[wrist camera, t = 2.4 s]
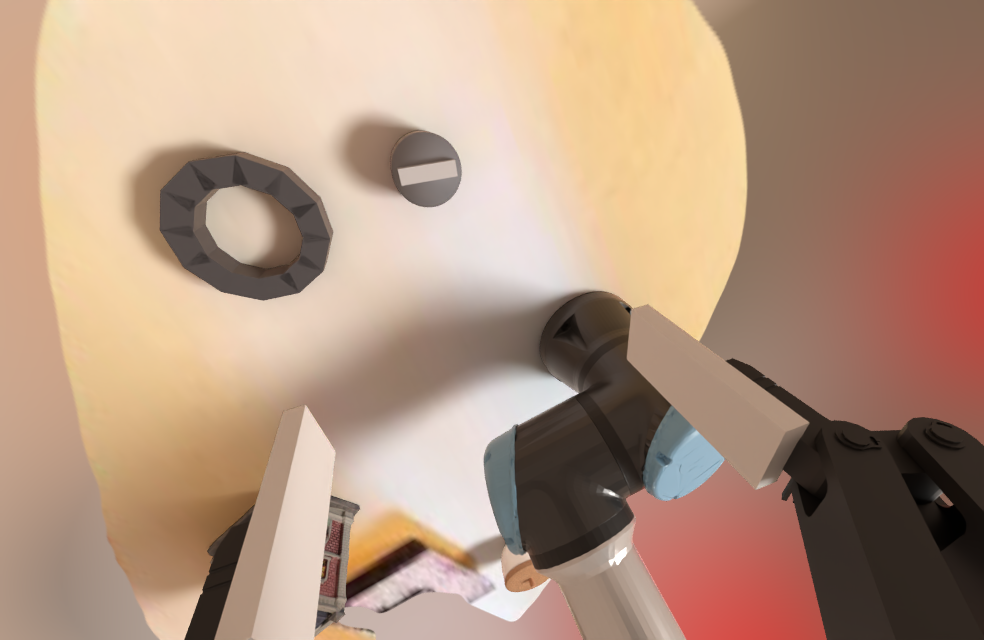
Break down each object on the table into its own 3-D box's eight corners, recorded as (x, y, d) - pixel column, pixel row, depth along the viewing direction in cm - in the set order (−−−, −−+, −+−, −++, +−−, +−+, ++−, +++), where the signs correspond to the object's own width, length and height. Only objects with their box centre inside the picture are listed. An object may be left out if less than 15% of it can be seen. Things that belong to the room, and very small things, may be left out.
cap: (448, 126, 34) (456, 127, 30) (458, 193, 38) (468, 202, 34) (382, 135, 33) (382, 138, 29) (399, 203, 37) (402, 214, 33)
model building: (283, 477, 51) (235, 655, 34) (363, 504, 58) (356, 660, 42) (206, 548, 54) (127, 744, 37) (291, 565, 61) (258, 734, 45)
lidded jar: (492, 558, 79) (504, 606, 71) (499, 530, 74) (512, 579, 66) (535, 548, 82) (551, 593, 74) (544, 521, 77) (563, 566, 69)
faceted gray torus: (300, 144, 32) (295, 146, 30) (348, 273, 39) (346, 282, 36) (140, 167, 29) (122, 171, 27) (221, 300, 36) (212, 311, 34)
